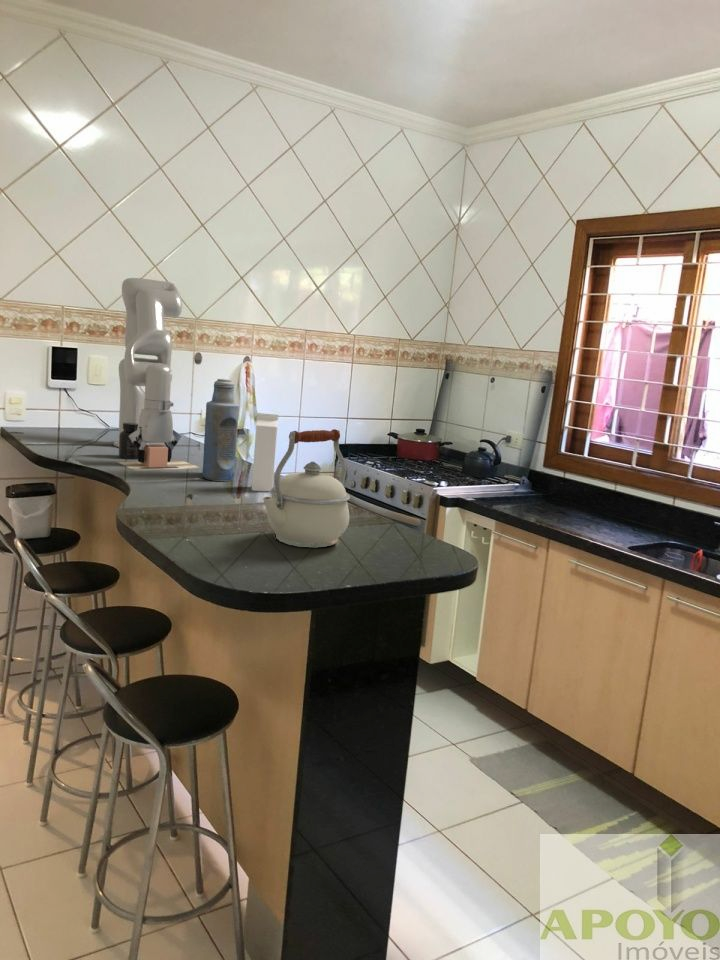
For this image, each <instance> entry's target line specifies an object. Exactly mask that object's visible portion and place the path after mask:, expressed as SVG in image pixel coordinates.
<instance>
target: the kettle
mask: <svg viewBox="0 0 720 960" xmlns="http://www.w3.org/2000/svg"><path fill="white" fill-rule="evenodd" d="M288 439H289V441H288V443H289V444H288V447H287V450H286V452H285V454H284V456H283V457H282V459H281V460H280V461H279V464H278V465H277V467H276V469H275V470H274V477H273V485H274V486H273V488H271V490H270V493H271V495H272V496H264V497H262V500H263V504H264V506H265V510H266V511H267V512H266V518H267V522H268V524H269V526H270V527H271V529H272V531H273V532H274V533H275V534H276V536H277V537H279V538H280V539H284V540H287V541H293V542H302V543H324V542H330V541H333V540H336V539H338V538H340V536H342V535H343V534H344V532H345V531H346V530H347V529H348V527H349V523H350V511H349V504H348V501H349V500H350V498H351V496H350V494H349V493H347V491H346V488H345V486H344V482H345V481H346V480H345V479H346V474H347V464H346V461H345V459H344V456H343V454H342V451H341V450H340V439H341V433H340V429H339V430H338V429H335V428H334V429H333V428H332V429H331V430H326V429H320V430H319V429H318V430H314V429H313V430H304V431H297V430H293V431H292V430H291V431H289V435H288ZM328 441H332V442H333V450H334V451H335V453H336V456H337V458H338V460H339V463H340V475H339V479H336V478H335V477H333V476H331V475H328V474H324V473H320V471H322V468H321V466H320V465H319V464H318V463H317V462H315V461H310V462H309V463H307V464H305V465H304V466H303V469H304V471H297V472H293V473H288V474H286V475H284V476H282V477H281V473H282V471H283V469H284V467H285V465H286V464H287V462H288V460H289V459H290V458H291V456H292V454H293V452H294V449H295V444H298V443H299V442H300V443H322V442H323V443H324V442H328Z"/></svg>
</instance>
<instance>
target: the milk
mask: <svg viewBox="0 0 720 960" xmlns="http://www.w3.org/2000/svg"><path fill="white" fill-rule="evenodd" d="M278 427H279V415H278V414H271V413H261V412H258V413H257V415H256V423H255V434H254V435H255V439H254V451H253V465H252V468H253V469H252V477H251V478H252V480H251V491H255V492H266V491H270V490H271V488H273V487H274V476H275V464H276V449H277V438H278Z"/></svg>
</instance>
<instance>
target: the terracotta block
mask: <svg viewBox="0 0 720 960" xmlns="http://www.w3.org/2000/svg"><path fill="white" fill-rule="evenodd" d="M143 450H145V456H144V463H141V464H142V465H145V466H147V467H167V461H168V448H167V447H166V445H162V444H150V445H145V447H144V448H143Z"/></svg>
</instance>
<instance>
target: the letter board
mask: <svg viewBox="0 0 720 960" xmlns="http://www.w3.org/2000/svg"><path fill="white" fill-rule="evenodd" d="M117 463H118V464H120V465H123V466H125V467H127V468H128V469H131V470H134V471H137V472H138V471H159V470H160V471H162V470H163V471H164V470H165V471H166V470H167V471H168V470H190V469H191V470H195V469H196V470H197V469H201V467H200V466H197V465H195V464H192V463H190V462H187V461H184V460H181V459H180V460H170V462H167V467H147V466H145V465H142V464H141V462H139V461H117Z"/></svg>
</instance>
